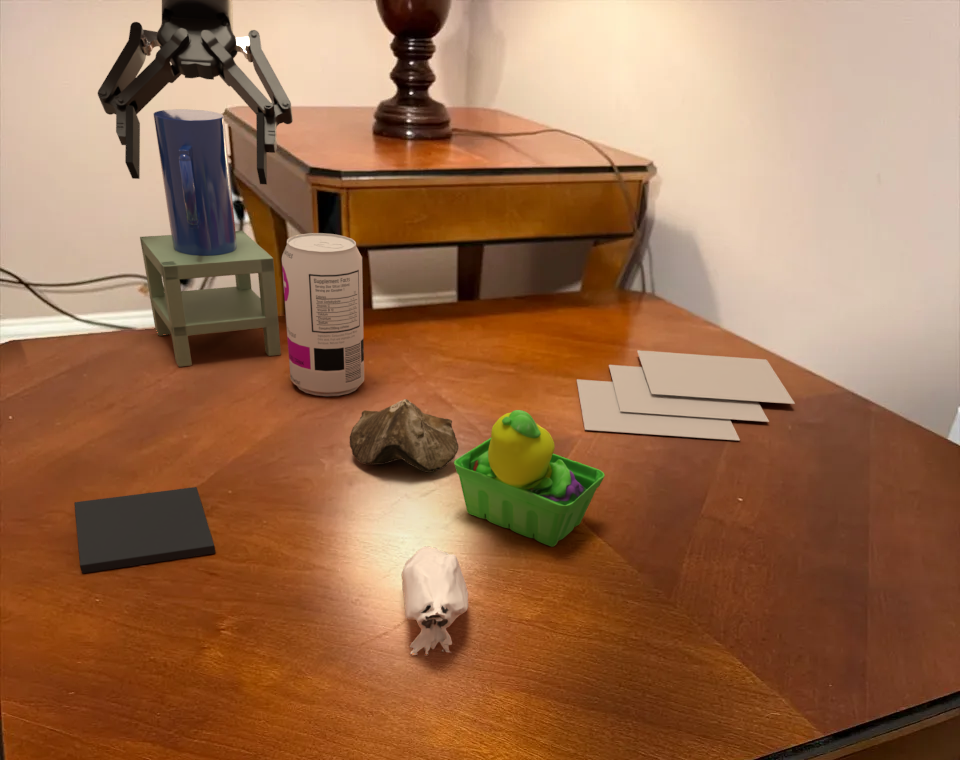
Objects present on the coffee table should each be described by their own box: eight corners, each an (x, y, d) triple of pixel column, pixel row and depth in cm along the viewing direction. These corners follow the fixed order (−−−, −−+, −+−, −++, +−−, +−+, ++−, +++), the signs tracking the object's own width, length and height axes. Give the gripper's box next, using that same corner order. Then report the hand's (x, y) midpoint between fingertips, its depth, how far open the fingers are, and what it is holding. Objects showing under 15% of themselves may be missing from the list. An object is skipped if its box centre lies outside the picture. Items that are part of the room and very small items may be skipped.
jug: (178, 237, 101) (159, 107, 92) (240, 240, 101) (227, 111, 93) (163, 261, 93) (142, 122, 85) (230, 264, 94) (215, 126, 86)
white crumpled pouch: (482, 662, 63) (460, 560, 69) (474, 604, 58) (450, 500, 64) (415, 674, 63) (398, 572, 69) (401, 618, 58) (384, 512, 63)
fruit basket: (600, 522, 77) (621, 402, 70) (551, 566, 71) (569, 439, 64) (493, 483, 82) (502, 366, 75) (439, 520, 76) (443, 397, 69)
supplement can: (279, 391, 95) (267, 246, 86) (308, 365, 101) (300, 228, 92) (349, 403, 94) (344, 257, 85) (374, 376, 100) (372, 237, 91)
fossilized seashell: (472, 431, 85) (383, 424, 89) (450, 386, 79) (357, 380, 83) (448, 496, 82) (358, 485, 86) (424, 454, 77) (328, 445, 80)
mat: (76, 510, 74) (74, 501, 73) (197, 494, 77) (196, 486, 76) (82, 573, 66) (79, 565, 66) (215, 553, 70) (214, 545, 69)
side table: (178, 367, 99) (163, 266, 92) (155, 332, 107) (139, 236, 100) (281, 354, 104) (273, 258, 97) (251, 322, 112) (242, 230, 105)
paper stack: (816, 446, 93) (819, 439, 92) (584, 430, 92) (585, 423, 92) (765, 364, 111) (766, 359, 111) (571, 350, 110) (572, 345, 110)
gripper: (314, 29, 101) (316, 199, 99) (90, 14, 98) (88, 190, 96) (309, -26, 94) (312, 156, 92) (68, -44, 91) (64, 144, 89)
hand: (197, 174), depth 94 cm, fingers open, 13 cm apart
